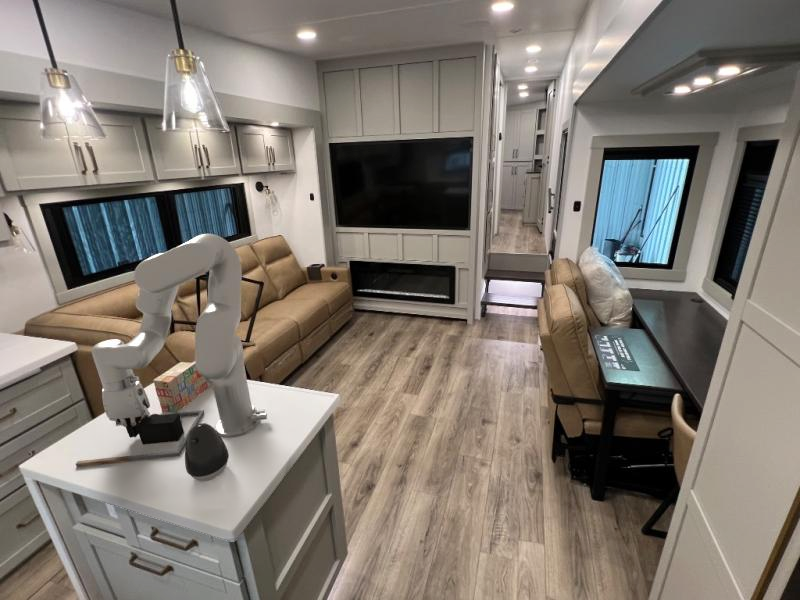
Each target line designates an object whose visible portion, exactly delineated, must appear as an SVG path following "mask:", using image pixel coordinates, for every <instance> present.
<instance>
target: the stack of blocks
mask: <svg viewBox="0 0 800 600" xmlns="http://www.w3.org/2000/svg"><path fill="white" fill-rule="evenodd" d="M153 384H154V387H155V388H154V389H155V392H156V396H157V398H158V400H159V405H160V409H161V411H162V412H169V413H180V411H181V410H183V407H184V406H185V407H186V406H188V405H189V404H190V403H191V402H193V401H194V400H195V399H197V398H198V397H199V396H200V395H201V394H203V393H204V392H205V391H206V390H207V389H209V388H210V387H211V386H213V385H212V381H211V380H210V379H207V378H205V377H203V376H202V375H201V374H200V373H199V372H198V370H197V368H196V364H195V360H194V361H193V362H184V361H183V362H182V361H180V362H178V363H177V364H176V365H174V366H172V367H170V368H169V369H168V370H167V371H165V372H163V373H162V374H161V375H158V376H157V377H156V378H154V379H153ZM204 390H205V391H204ZM199 394H200V395H199ZM198 395H199V396H198ZM193 399H194V400H193ZM192 400H193V401H192ZM189 402H190V403H189ZM188 403H189V404H188ZM187 404H188V405H187ZM185 407H184V408H185Z"/></svg>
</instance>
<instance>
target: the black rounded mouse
mask: <svg viewBox="0 0 800 600" xmlns="http://www.w3.org/2000/svg"><path fill="white" fill-rule="evenodd" d="M229 455H230V453H229V450H228V448H227V446H226V444H225V442H224V439H223V438H222V436H221V435H219V434H218V432H217V429H215V428H214V426H211V424H208V423H206V422H201V423H200V422H199V424H197V425H195V426H194V427H193V428H192V429H191V430H190V432H189V434H188V437H187V440H186V446H185V448H184V463H185V464H184V465H185V470H186V473H187V475H189V476H190V477H191V478H193V479H194V480H196V481H199V482H207V481H211V480H213V479H215V478H217V477H219V476H220V475H221V474H222V473H223V472H224V471H225V469H226V467H227V465H228V461H229Z"/></svg>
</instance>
